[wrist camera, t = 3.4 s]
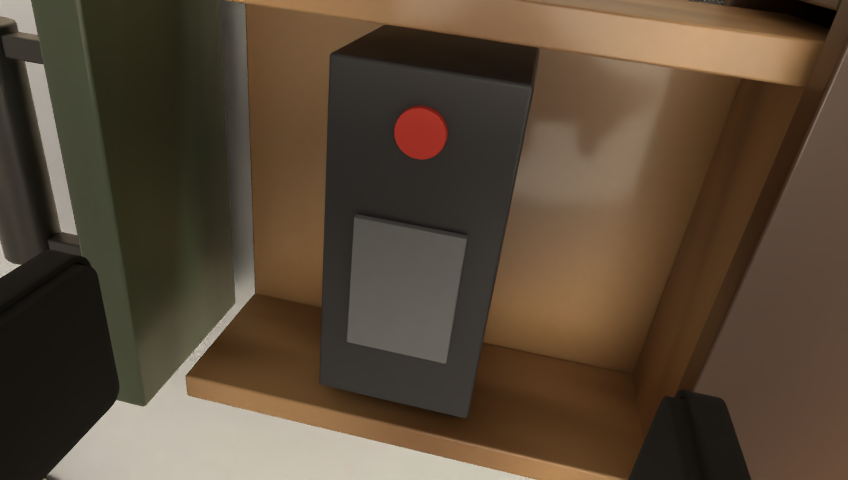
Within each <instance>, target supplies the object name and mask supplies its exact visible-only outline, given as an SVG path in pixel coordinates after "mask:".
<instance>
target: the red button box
mask: <svg viewBox="0 0 848 480" xmlns="http://www.w3.org/2000/svg"><path fill="white" fill-rule="evenodd" d="M539 53H540V50H539V48H537V47H531V46H524V45H517V44H511V43H504V42H498V41H491V40H484V39H478V38H471V37H464V36H458V35H451V34H444V33H438V32H431V31H425V30H418V29H411V28H405V27H398V26H391V25H383V26H381V27H379V28H377V29H375V30H374V31H372V32H370V33H368V34H366V35H364V36H362V37H360V38H358V39H356V40H355V41H353V42H351V43H349V44H347V45H345V46H343V47H341V48H339V49H338V50H336V51H334V52H332V53H331V54H330V58H329V90H328V121H327V152H326V184H325V215H324V246H323V278H322V309H321V340H320V372H319V383H320V384H321V385H323V386H328V387H332V388H336V389H341V390H345V391H349V392H354V393H358V394H362V395H366V396H371V397H375V398H379V399H384V400H388V401H392V402H397V403H401V404H405V405H410V406H414V407H418V408H423V409H427V410H431V411H435V412H440V413H444V414H448V415H453V416H457V417H461V418H467V416H468V415H469V410H470V405H471V400H472V395H473V390H474V385H475V380H476V375H477V370H478V365H479V360H480V355H481V350H482V345H483V340H484V335H485V330H486V325H487V320H488V315H489V310H490V305H491V300H492V295H493V290H494V285H495V280H496V275H497V270H498V265H499V260H500V255H501V250H502V245H503V241H504V236H505V231H506V226H507V221H508V216H509V211H510V206H511V201H512V196H513V191H514V186H515V181H516V176H517V171H518V166H519V161H520V156H521V151H522V146H523V141H524V136H525V131H526V126H527V121H528V116H529V111H530V106H531V101H532V96H533V91H534V86H535V79H536V73H537V66H538V60H539Z"/></svg>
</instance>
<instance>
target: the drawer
mask: <svg viewBox="0 0 848 480" xmlns="http://www.w3.org/2000/svg"><path fill="white" fill-rule="evenodd" d="M226 1H232V2H239V3H245V9H246V39H247V68H248V97H249V126H250V156H251V185H252V214H253V243H254V273H255V294H254V295H253V296H252V297H251V299H250V300H249V301H248V302H247V303H246V305H245V306H244V307H243V308H242V309H241V310H240V312H239V313H238V314H237V315H236V316H235V318H234V319H233V320H232V321H231V322H230V324H229V325H228V326H227V327H226V328H225V329H224V331H223V332H222V333H221V334H220V335H219V337H218V338H217V339H216V340H215V341H214V343H213V344H212V345H211V346H210V347H209V348H208V350H207V351H206V352H205V353H204V354H203V356H202V357H201V358H200V359H199V360H198V362H197V363H196V364H195V365H194V366H193V368H192V369H191V370H190V371H189V372H188V373H187V375H186V385H187V394H188V395H189V396H192V397H196V398H201V399H205V400H209V401H213V402H217V403H221V404H225V405H230V406H234V407H238V408H242V409H246V410H250V411H254V412H259V413H263V414H267V415H271V416H275V417H279V418H283V419H288V420H292V421H296V422H300V423H304V424H308V425H312V426H317V427H321V428H325V429H329V430H333V431H337V432H341V433H346V434H350V435H354V436H358V437H362V438H366V439H370V440H375V441H379V442H383V443H387V444H391V445H395V446H399V447H404V448H408V449H412V450H416V451H420V452H424V453H428V454H433V455H437V456H441V457H445V458H449V459H453V460H458V461H462V462H466V463H470V464H474V465H478V466H482V467H487V468H491V469H495V470H499V471H503V472H507V473H511V474H516V475H520V476H524V477H528V478H532V479H536V480H628V479H629V476H630V474H631V471H632V469H633V467H634V464H635V462H636V459H637V457H638V455H639V452H640V450H641V448H642V445H643V443H644V440H645V438H646V436H647V433H648V431H649V428H650V426H651V424H652V421H653V419H654V416H655V414H656V412H657V409H658V407H659V405H660V402H661V400H662V398H663V397H664V396H669V397H674V396H675V394H676V391H677V389H678V387H679V384H680V382H681V380H682V377H683V375H684V372H685V370H686V368H687V365H688V363H689V361H690V358H691V356H692V354H693V351H694V349H695V347H696V344H697V342H698V339H699V337H700V335H701V332H702V330H703V328H704V325H705V323H706V321H707V318H708V316H709V313H710V311H711V309H712V306H713V304H714V302H715V299H716V297H717V295H718V292H719V290H720V288H721V285H722V283H723V280H724V278H725V276H726V273H727V271H728V269H729V266H730V264H731V262H732V259H733V257H734V255H735V252H736V250H737V247H738V245H739V243H740V240H741V238H742V236H743V233H744V231H745V229H746V226H747V224H748V221H749V219H750V217H751V214H752V212H753V210H754V207H755V205H756V203H757V200H758V198H759V196H760V193H761V191H762V188H763V186H764V184H765V181H766V179H767V177H768V174H769V172H770V170H771V167H772V165H773V163H774V160H775V158H776V155H777V153H778V151H779V148H780V146H781V144H782V141H783V139H784V137H785V134H786V132H787V130H788V127H789V125H790V122H791V120H792V118H793V115H794V113H795V111H796V108H797V106H798V104H799V101H800V99H801V96H802V94H803V92H804V89H805V87H806V85H807V82H808V80H809V78H810V75H811V73H812V71H813V68H814V66H815V63H816V61H817V59H818V56H819V54H820V52H821V49H822V47H823V45H824V42H825V40H826V38H827V35H828V33H829V30H830V29H828V28H826V27H823V26H820V25H817V24H814V23H811V22H809V21H806V20H803V19H800V18H796V17H794V16H791V15H788V14H783V13H776V12H769V11H761V10H754V9H747V8H739V7H732V6H725V5H717V4H710V3H703V2H695V1H688V0H226ZM31 2H32V7H33V12H34V17H35V22H36V27H37V33H38V35H34V34H28V33H22V32H18V27H17V23H16V22H15V21H14V20H12V19H9V18H6V17H0V241H1V245H2V249H3V252H4V256H5V258H6V259H7V260H8V261H9V262H11V263H14V264H20V265H22V264H24V263H25V262H27V261H29V260H30V259H32V258H33V257H35V256H37V255H38V254H40V253H42V252H44V251H46V250H56V251H61V252H65V253H70V254H74V255H79V256H82V257H85V258H87V260H88V261H89V262H90V264H91V267H92V268H94V269H95V270H96V272H97V275H98V279H99V284H100V289H101V294H102V299H103V304H104V309H105V314H106V319H107V324H108V329H109V334H110V339H111V344H112V349H113V354H114V359H115V364H116V369H117V375H118V380H119V387H120V388H119V393H118V396H117V399H116V400H119V401H123V402H127V403H131V404H135V405H139V406H146V405H147V404H148V402H149V401H150V400H151V399H152V398H153V397H154V395H155V394H156V393H157V392H158V391H159V390H160V389H161V387H162V386H163V385H164V384H165V383H166V382H167V381H168V379H169V378H170V377H171V376H172V375H173V374H174V373H175V371H176V370H177V369H178V368H179V367H180V366H181V365H182V363H183V362H184V361H185V360H186V359H187V358H188V357H189V355H190V354H191V353H192V352H193V351H194V350H195V348H196V347H197V346H198V345H199V344H200V343H201V342H202V340H203V339H204V338H205V337H206V336H207V335H208V334H209V332H210V331H211V330H212V329H213V328H214V327H215V326H216V324H217V323H218V322H219V321H220V320H221V319H222V318H223V316H224V315H225V314H226V313H227V312H228V311H229V310H230V308H231V307H232V306H233V305H234V304H235V283H234V264H233V246H232V227H231V209H230V190H229V172H228V153H227V135H226V116H225V98H224V79H223V61H222V42H221V24H220V6H219V0H31ZM383 25H391V26H398V27H405V28H411V29H418V30H425V31H431V32H438V33H444V34H451V35H458V36H464V37H471V38H478V39H484V40H491V41H498V42H504V43H511V44H517V45H524V46H531V47H537V48H539V50H540V53H539V60H538V66H537V73H536V79H535V86H534V91H533V96H532V101H531V106H530V111H529V116H528V121H527V126H526V131H525V136H524V141H523V146H522V151H521V156H520V161H519V166H518V171H517V176H516V181H515V186H514V191H513V196H512V201H511V206H510V211H509V216H508V221H507V226H506V231H505V236H504V241H503V245H502V250H501V255H500V260H499V265H498V270H497V275H496V280H495V285H494V290H493V295H492V300H491V305H490V310H489V315H488V320H487V325H486V330H485V335H484V340H483V345H482V350H481V355H480V360H479V365H478V370H477V375H476V380H475V385H474V390H473V395H472V400H471V405H470V410H469V415H468V416H467V418H461V417H457V416H453V415H448V414H444V413H440V412H435V411H431V410H427V409H423V408H418V407H414V406H410V405H405V404H401V403H397V402H392V401H388V400H384V399H379V398H375V397H371V396H366V395H362V394H358V393H354V392H349V391H345V390H341V389H336V388H332V387H328V386H323V385H321V384H320V383H319V372H320V340H321V309H322V278H323V246H324V215H325V184H326V152H327V121H328V90H329V58H330V54H331V53H332V52H334V51H336V50H338V49H339V48H341V47H343V46H345V45H347V44H349V43H351V42H353V41H355V40H356V39H358V38H360V37H362V36H364V35H366V34H368V33H370V32H372V31H374V30H375V29H377V28H379V27H381V26H383ZM25 61H27V62H33V63H39V64H44V68H45V73H46V78H47V83H48V88H49V93H50V98H51V103H52V108H53V113H54V118H55V123H56V128H57V133H58V138H59V143H60V148H61V153H62V159H63V164H64V169H65V174H66V179H67V184H68V189H69V194H70V199H71V204H72V209H73V214H74V219H75V224H76V229H77V234H78V236H77V235H73V234H68V233H63V232H61V229H60V224H59V219H58V215H57V210H56V205H55V201H54V196H53V191H52V186H51V182H50V177H49V172H48V168H47V163H46V158H45V154H44V149H43V144H42V140H41V135H40V130H39V126H38V121H37V116H36V111H35V107H34V102H33V97H32V93H31V88H30V83H29V79H28V74H27V69H26V65H25Z"/></svg>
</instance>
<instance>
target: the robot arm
mask: <svg viewBox="0 0 848 480" xmlns="http://www.w3.org/2000/svg"><path fill="white" fill-rule="evenodd" d="M119 388H120V387H119V380H118V375H117V369H116V364H115V359H114V354H113V349H112V344H111V339H110V334H109V329H108V324H107V319H106V314H105V309H104V304H103V299H102V294H101V289H100V284H99V279H98V275H97V272H96V270H95V269H94V268H92V267H91V264H90V262H89V261H88V260H87V258H85V257H82V256H79V255H74V254H70V253H65V252H61V251H56V250H46V251H44V252H42V253H40V254H38V255H37V256H35V257H33V258H32V259H30V260H29V261H27V262H25V263H24V264H22V265H21V266H19V267H17V268H16V269H14V270H13V271H11V272H9V273H8V274H6V275H5V276H3V277H1V278H0V480H47V479H45V477H46V475H47V474H48V473H49V472H50V471H51V470H52V469H53V468H54V467H55V466H56V465H57V464H58V463H59V462H60V461H61V460H62V458H63V457H64V456H65V455H66V454H67V453H68V452H69V451H70V450H71V449H72V448H73V447H74V446H75V445H76V444H77V443H78V442H79V440H80V439H81V438H82V437H83V436H84V435H85V434H86V433H87V432H88V431H89V430H90V429H91V428H92V427H93V426H94V425H95V423H96V422H97V421H98V420H99V419H100V418H101V417H102V416H103V415H104V414H105V413H106V412H107V411H108V410H109V409H110V408H111V406H112V405H113V404H114V402H115V400H116V399H117V396H118V393H119ZM628 480H751V477H750V474H749V471H748V468H747V465H746V462H745V459H744V456H743V453H742V450H741V447H740V444H739V441H738V438H737V435H736V432H735V429H734V426H733V423H732V420H731V417H730V414H729V411H728V408H727V405H726V403H725V401H724V400H723V399H722V398H719V397H715V396H710V395H706V394H701V393H697V392H692V391H688V390H679V391H678V392H677V394H676V396H675V397H669V396H664V397H663V398H662V400H661V402H660V405H659V407H658V409H657V412H656V414H655V416H654V419H653V421H652V424H651V426H650V428H649V431H648V433H647V436H646V438H645V440H644V443H643V445H642V448H641V450H640V452H639V455H638V457H637V459H636V462H635V464H634V467H633V469H632V471H631V474H630V476H629V479H628Z"/></svg>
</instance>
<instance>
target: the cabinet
mask: <svg viewBox="0 0 848 480" xmlns="http://www.w3.org/2000/svg"><path fill="white" fill-rule="evenodd" d="M723 5H725V6H732V7H739V8H747V9H754V10H761V11H769V12H776V13H783V14H788V15H791V16H794V17H796V18H800V19H803V20H806V21H809V22H811V23H814V24H817V25H820V26H823V27H826V28H828V29H830V30H829V33H828V35H827V38H826V40H825V42H824V45H823V47H822V49H821V52H820V54H819V56H818V59H817V61H816V63H815V66H814V68H813V71H812V73H811V75H810V78H809V80H808V82H807V85H806V87H805V89H804V92H803V94H802V96H801V99H800V101H799V104H798V106H797V108H796V111H795V113H794V115H793V118H792V120H791V122H790V125H789V127H788V130H787V132H786V134H785V137H784V139H783V141H782V144H781V146H780V148H779V151H778V153H777V155H776V158H775V160H774V163H773V165H772V167H771V170H770V172H769V174H768V177H767V179H766V181H765V184H764V186H763V188H762V191H761V193H760V196H759V198H758V200H757V203H756V205H755V207H754V210H753V212H752V214H751V217H750V219H749V221H748V224H747V226H746V229H745V231H744V233H743V236H742V238H741V240H740V243H739V245H738V247H737V250H736V252H735V255H734V257H733V259H732V262H731V264H730V266H729V269H728V271H727V273H726V276H725V278H724V280H723V283H722V285H721V288H720V290H719V292H718V295H717V297H716V299H715V302H714V304H713V306H712V309H711V311H710V313H709V316H708V318H707V321H706V323H705V325H704V328H703V330H702V332H701V335H700V337H699V339H698V342H697V344H696V347H695V349H694V351H693V354H692V356H691V358H690V361H689V363H688V365H687V368H686V370H685V372H684V375H683V377H682V380H681V382H680V384H679V387H678V389H677V391H676V394H677V392H678V391H679V390H688V391H692V392H697V393H701V394H706V395H710V396H715V397H719V398H722V399H723V400H724V401H725V403H726V405H727V408H728V411H729V414H730V417H731V420H732V423H733V426H734V429H735V432H736V435H737V438H738V441H739V444H740V447H741V450H742V453H743V456H744V459H745V462H746V465H747V468H748V471H749V474H750V477H751V480H848V0H724V2H723ZM676 394H675V396H676ZM675 396H674V397H675Z"/></svg>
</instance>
